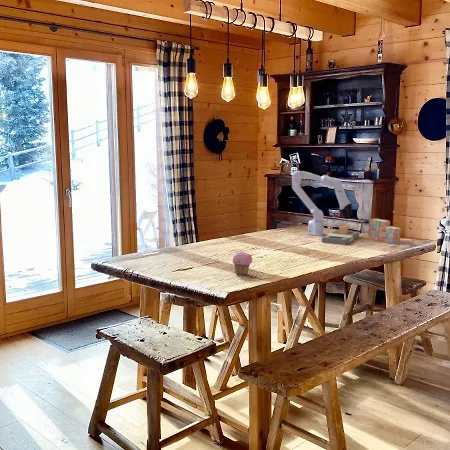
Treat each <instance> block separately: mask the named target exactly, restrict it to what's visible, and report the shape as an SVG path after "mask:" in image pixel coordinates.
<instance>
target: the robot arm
mask: <svg viewBox="0 0 450 450" xmlns="http://www.w3.org/2000/svg"><path fill="white" fill-rule="evenodd" d="M306 179H309V180H314V181H317V182H320V184H321V185H324V186H326V187H333V189H334V191H335V192H334V193H335V195H336V199H337V201H338V204H339V209H338V210H339V213H341V215H343V217H344V219H345V220H349V219H350V217H352V216H353V208H352V207H353V204H352V203H351V201H350V200H349V199H348V197H347V194H346V192H345V188H344V186H343V182H342V180H341V179H339V178H336V177H331V176H329V175H328V174H323V175H322V176H320V175H318V174H314V173H312V172H308V171H304V170H295V171H294V172H293V173H292V176H291V189H292V190H293V192H295V194H296V195H297V196H298V198H299V199H300V200H301V202H302V203H303V204H304V205H305V206H306V208H307V209H308V210H309V211H310V214H312V217H313V219H312V220H311V219H310V220H309V221H308V225H307V235H313V236H320V237H321V236H322V237H323V236H324V235H326V232H324V227H325V225H324V224H325V220H324V212H323V210H321V209H320V208H318V207H317V206H316V204H315V203H314V202H313V201H312V200H311V198H310V197H309V196H308V195H307V193H306V191H304V189H303V188H302V187H301V182H302V180H306Z"/></svg>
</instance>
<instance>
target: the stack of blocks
mask: <svg viewBox="0 0 450 450" xmlns="http://www.w3.org/2000/svg"><path fill="white" fill-rule="evenodd" d="M401 233H402V228H401V227H397V226H392V225H391V221H390V220H387V219H380V218H369V219H368V235H367V238H368V239H371V240H374V241H378V242H383V243H386V242H387V244H391V245H395V244H400V243H401Z"/></svg>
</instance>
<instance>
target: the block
mask: <svg viewBox="0 0 450 450" xmlns="http://www.w3.org/2000/svg"><path fill="white" fill-rule="evenodd" d="M338 230H339V234H348V231H349V226H348V225H340V226H339V228H338Z"/></svg>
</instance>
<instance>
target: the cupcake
mask: <svg viewBox="0 0 450 450" xmlns="http://www.w3.org/2000/svg"><path fill="white" fill-rule="evenodd" d="M252 263H253V257H252V255H251V253H250V254H249V253H247V252H243V251H240V252H236V253H235V255H234V256H233V257H232V264H234V272H235V274H236V275H238V276H245V275H247V274H248V273H249V269H250V266H251V265H250V264H252Z"/></svg>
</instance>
